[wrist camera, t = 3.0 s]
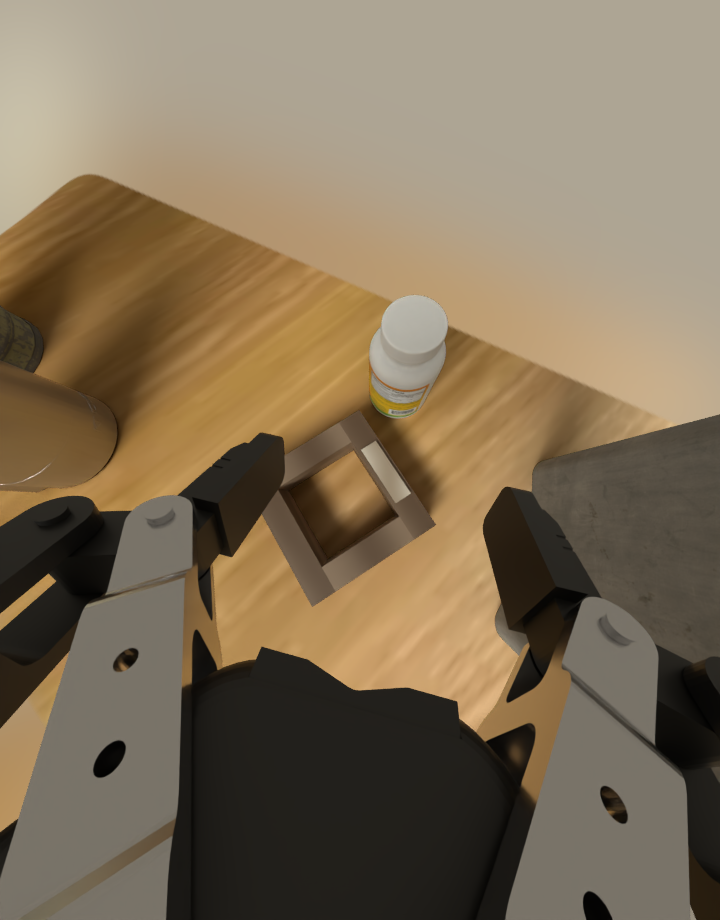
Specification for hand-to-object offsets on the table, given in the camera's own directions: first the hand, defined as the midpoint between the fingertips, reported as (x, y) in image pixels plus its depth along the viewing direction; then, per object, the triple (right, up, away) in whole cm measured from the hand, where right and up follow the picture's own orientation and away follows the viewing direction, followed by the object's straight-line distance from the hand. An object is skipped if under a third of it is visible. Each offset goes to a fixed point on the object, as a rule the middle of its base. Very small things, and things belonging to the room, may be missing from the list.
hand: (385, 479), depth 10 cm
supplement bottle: (+3, +7, +16) cm, 17 cm away
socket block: (-3, -3, +14) cm, 14 cm away
